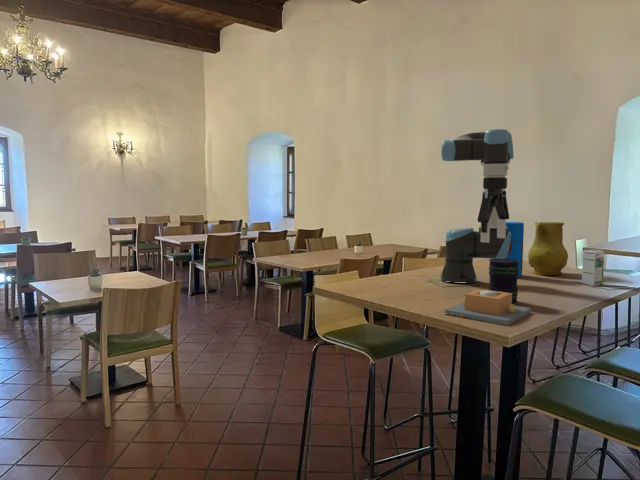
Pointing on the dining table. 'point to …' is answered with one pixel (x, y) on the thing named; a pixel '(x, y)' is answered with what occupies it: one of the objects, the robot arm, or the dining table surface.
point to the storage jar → (504, 276)
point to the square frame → (487, 302)
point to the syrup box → (592, 267)
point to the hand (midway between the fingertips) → (493, 240)
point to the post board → (503, 318)
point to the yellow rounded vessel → (548, 249)
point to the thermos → (516, 243)
